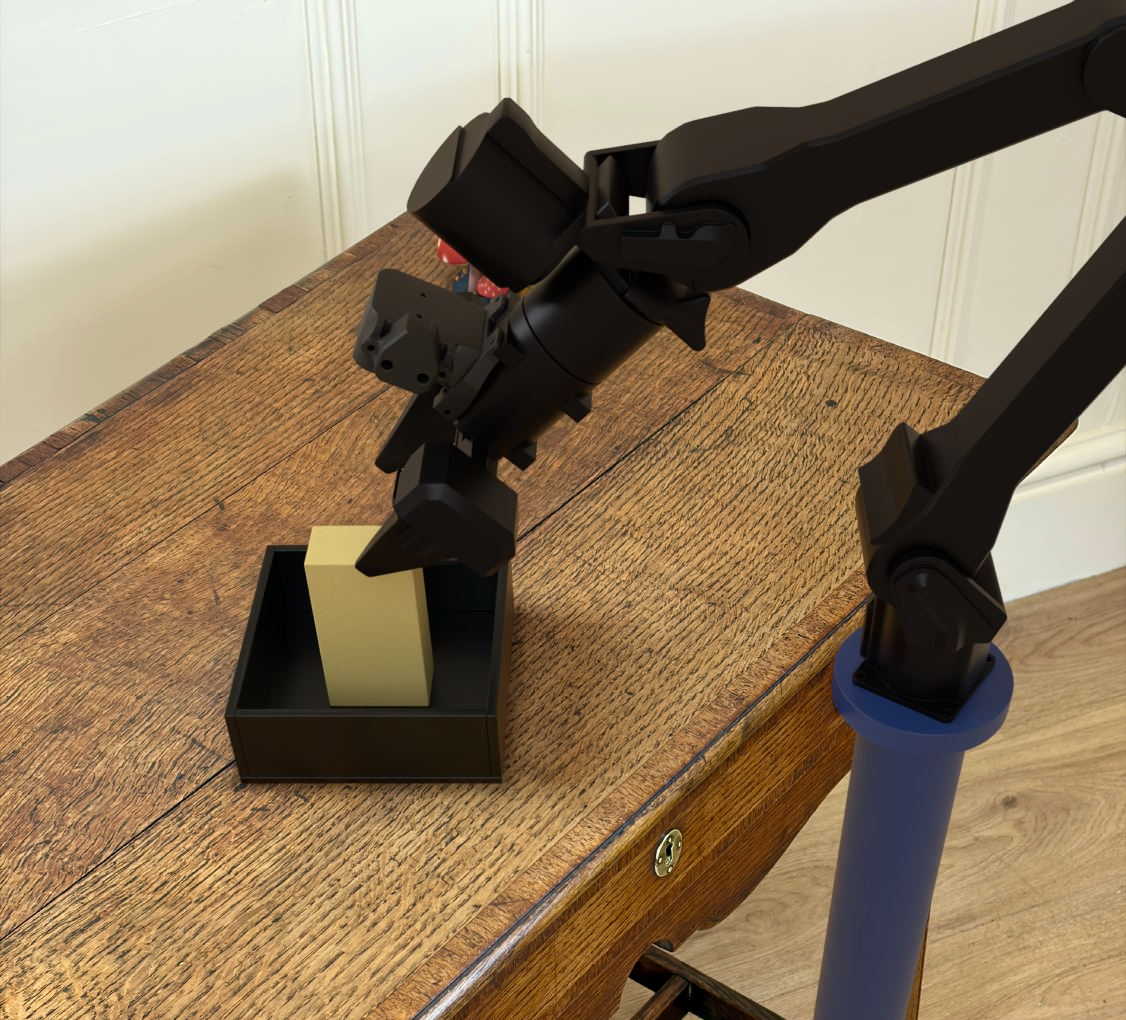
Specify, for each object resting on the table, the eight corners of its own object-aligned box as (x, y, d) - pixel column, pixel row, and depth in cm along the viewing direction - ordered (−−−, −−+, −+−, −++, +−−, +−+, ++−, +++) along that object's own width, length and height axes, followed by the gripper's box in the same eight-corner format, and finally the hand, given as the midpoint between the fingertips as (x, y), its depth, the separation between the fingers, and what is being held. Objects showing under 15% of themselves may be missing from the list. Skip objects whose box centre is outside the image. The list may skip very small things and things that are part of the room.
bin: (514, 611, 101) (510, 543, 97) (502, 783, 91) (496, 715, 87) (280, 611, 102) (266, 544, 98) (240, 783, 91) (223, 716, 87)
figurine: (542, 330, 125) (538, 230, 119) (430, 317, 127) (420, 218, 121) (578, 256, 133) (576, 159, 127) (472, 245, 135) (465, 149, 129)
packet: (337, 667, 97) (312, 525, 90) (434, 667, 97) (417, 524, 89) (330, 706, 95) (303, 564, 87) (429, 706, 95) (411, 564, 87)
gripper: (456, 144, 81) (278, 336, 90) (422, 338, 68) (218, 542, 77) (611, 281, 86) (429, 451, 95) (607, 485, 73) (397, 661, 82)
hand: (371, 517), depth 87 cm, fingers open, 9 cm apart
